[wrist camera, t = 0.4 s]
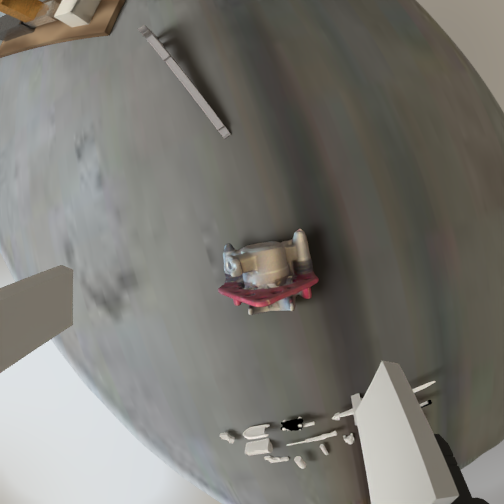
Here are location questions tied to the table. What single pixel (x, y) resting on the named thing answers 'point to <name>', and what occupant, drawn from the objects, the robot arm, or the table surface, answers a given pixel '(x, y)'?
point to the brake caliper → (269, 274)
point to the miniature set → (296, 424)
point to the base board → (66, 29)
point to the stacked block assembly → (30, 11)
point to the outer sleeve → (12, 28)
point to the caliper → (185, 80)
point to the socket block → (76, 11)
